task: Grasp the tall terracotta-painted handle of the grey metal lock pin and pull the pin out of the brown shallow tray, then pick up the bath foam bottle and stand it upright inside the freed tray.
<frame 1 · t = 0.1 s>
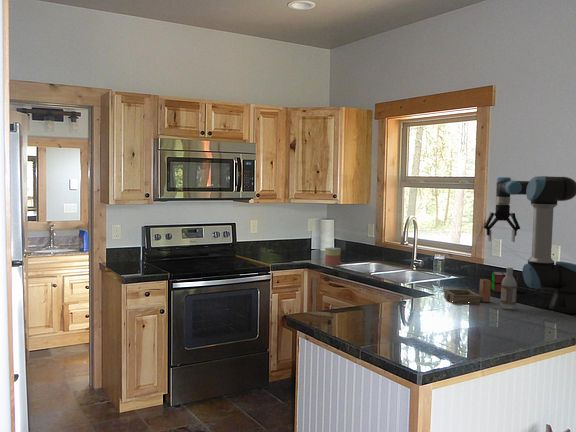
hand: (501, 241, 316), 28 cm above the countertop, fingers open, 13 cm apart
bath foam: (507, 308, 271), on the countertop
canned food: (332, 265, 401), on the countertop
puzzle cube: (501, 291, 315), on the countertop
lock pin: (467, 290, 285), point 6 cm above the countertop, slide at 0.0 cm
brown shallow tray: (461, 301, 285), on the countertop
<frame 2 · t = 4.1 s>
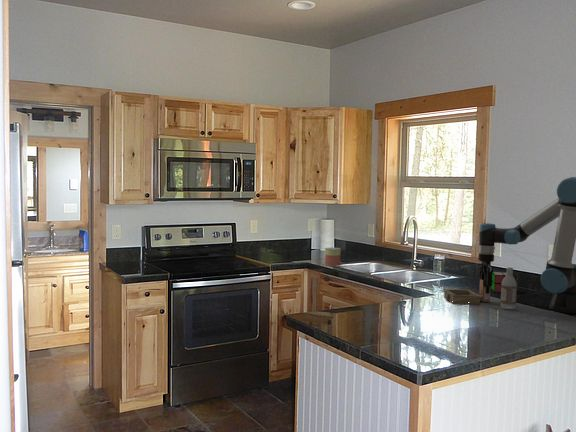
hand: (484, 298, 285), 2 cm above the countertop, fingers closed on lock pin, 4 cm apart
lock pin: (467, 290, 285), point 6 cm above the countertop, slide at 0.0 cm, touching gripper
everything else where it was.
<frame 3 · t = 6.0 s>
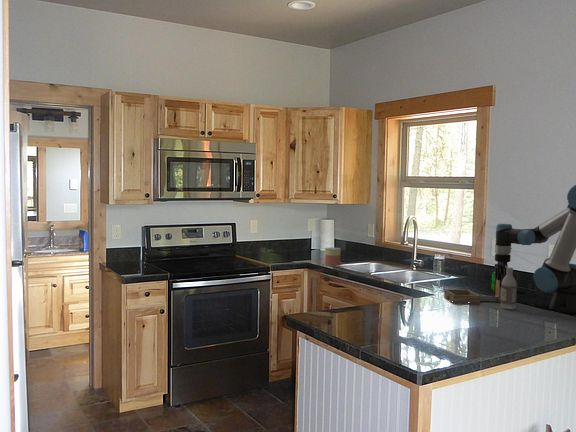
hand: (500, 298, 286), 2 cm above the countertop, fingers closed on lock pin, 5 cm apart
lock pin: (484, 290, 285), point 6 cm above the countertop, slide at 8.5 cm, touching gripper
everything else where it was.
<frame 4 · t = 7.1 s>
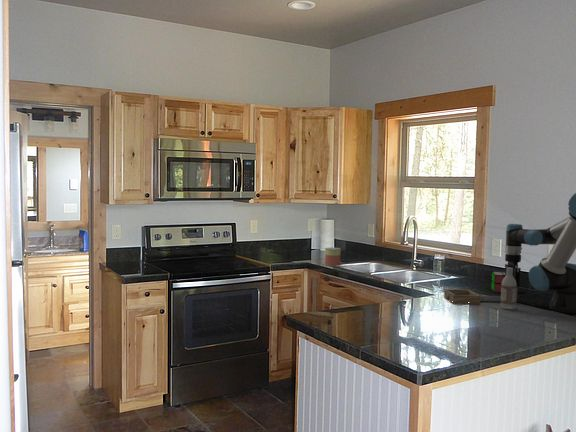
hand: (511, 298, 286), 2 cm above the countertop, fingers closed on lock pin, 4 cm apart
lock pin: (494, 290, 285), point 6 cm above the countertop, slide at 13.9 cm, touching gripper
everything else where it was.
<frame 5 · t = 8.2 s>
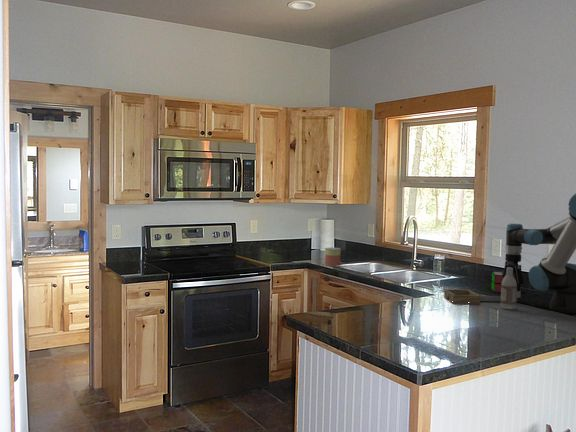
hand: (511, 294, 285), 4 cm above the countertop, fingers open, 13 cm apart
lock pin: (494, 290, 285), point 6 cm above the countertop, slide at 14.0 cm
everything else where it was.
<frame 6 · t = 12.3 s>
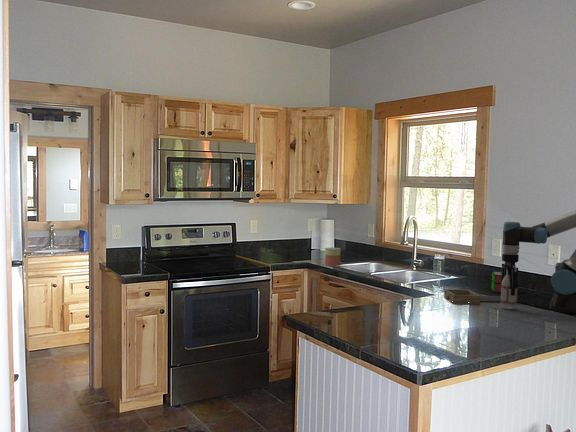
hand: (508, 300, 270), 4 cm above the countertop, fingers closed on bath foam, 7 cm apart
bath foam: (507, 308, 271), on the countertop, touching gripper
everything else where it was.
when the fingers open (6 cm above the countertop, at t = 18.1 s): bath foam drops 2 cm, resting in brown shallow tray.
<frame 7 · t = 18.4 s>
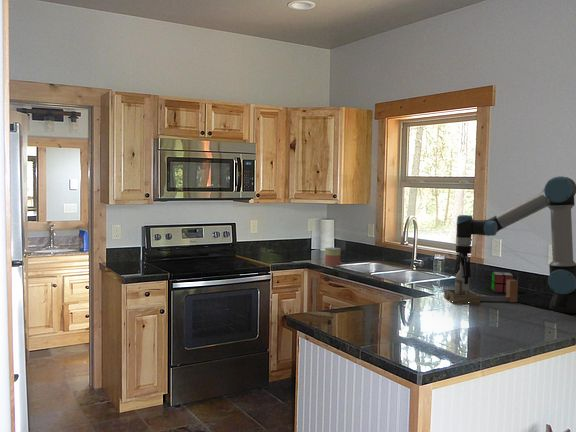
hand: (461, 288, 285), 7 cm above the countertop, fingers open, 10 cm apart
bath foam: (461, 301, 285), resting in brown shallow tray
everything else where it was.
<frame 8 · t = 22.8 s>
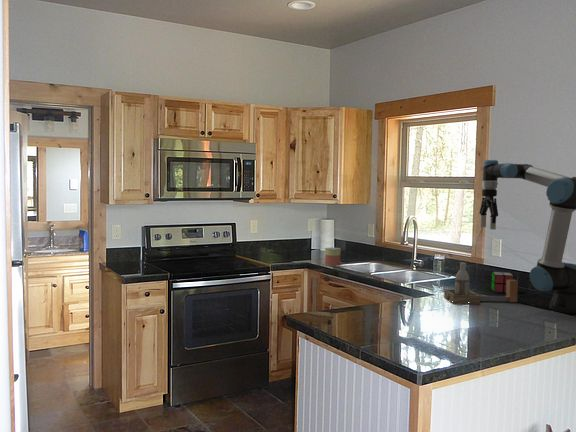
hand: (487, 228, 298), 37 cm above the countertop, fingers open, 13 cm apart
nothing on the countertop moved.
at the end: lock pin slide at 14.0 cm; bath foam inside the target area on the brown shallow tray (0.1 cm from its centre), point 0.0 cm above the brown shallow tray's base; bath foam tilted 0° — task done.
